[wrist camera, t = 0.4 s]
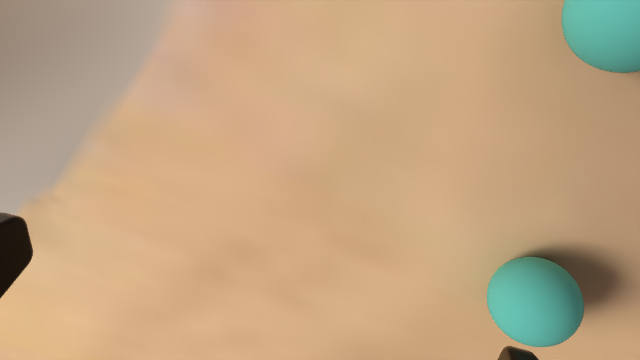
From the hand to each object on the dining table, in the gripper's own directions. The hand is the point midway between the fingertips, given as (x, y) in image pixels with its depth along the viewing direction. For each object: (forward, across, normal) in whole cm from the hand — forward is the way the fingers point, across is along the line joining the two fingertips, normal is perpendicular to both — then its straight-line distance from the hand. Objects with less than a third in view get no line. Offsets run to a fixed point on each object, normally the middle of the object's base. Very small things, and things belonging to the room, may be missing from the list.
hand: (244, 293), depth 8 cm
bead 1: (+14, -10, +8) cm, 18 cm away
